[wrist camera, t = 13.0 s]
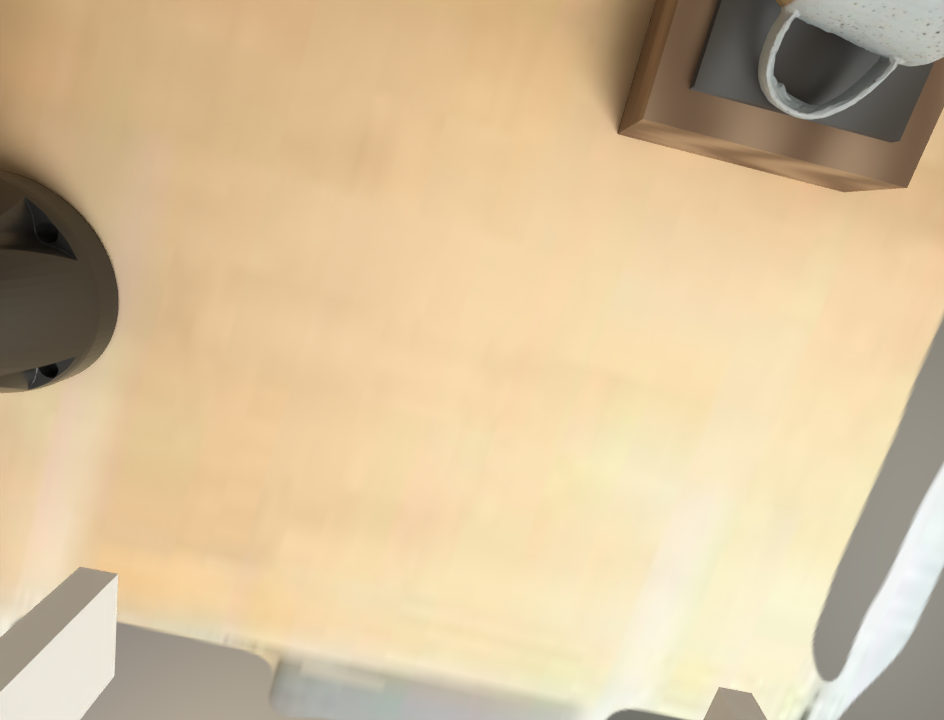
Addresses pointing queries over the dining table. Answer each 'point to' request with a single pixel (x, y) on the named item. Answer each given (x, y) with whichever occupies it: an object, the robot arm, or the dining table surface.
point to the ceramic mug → (857, 43)
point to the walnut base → (758, 121)
